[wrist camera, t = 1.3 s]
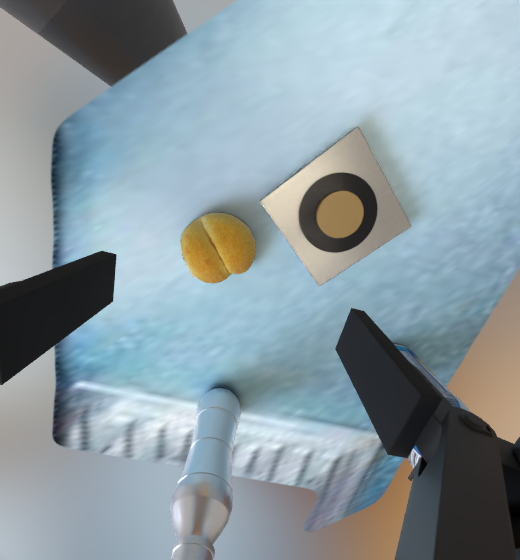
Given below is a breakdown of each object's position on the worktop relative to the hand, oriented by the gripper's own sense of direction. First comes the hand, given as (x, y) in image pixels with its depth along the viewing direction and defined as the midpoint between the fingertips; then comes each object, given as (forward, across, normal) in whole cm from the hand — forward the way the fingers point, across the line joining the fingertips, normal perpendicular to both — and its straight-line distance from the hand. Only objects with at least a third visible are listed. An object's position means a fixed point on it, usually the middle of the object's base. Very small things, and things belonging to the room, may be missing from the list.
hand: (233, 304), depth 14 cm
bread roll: (+20, -3, -2) cm, 20 cm away
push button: (+20, +10, +6) cm, 22 cm away
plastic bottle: (+20, +2, -25) cm, 32 cm away
